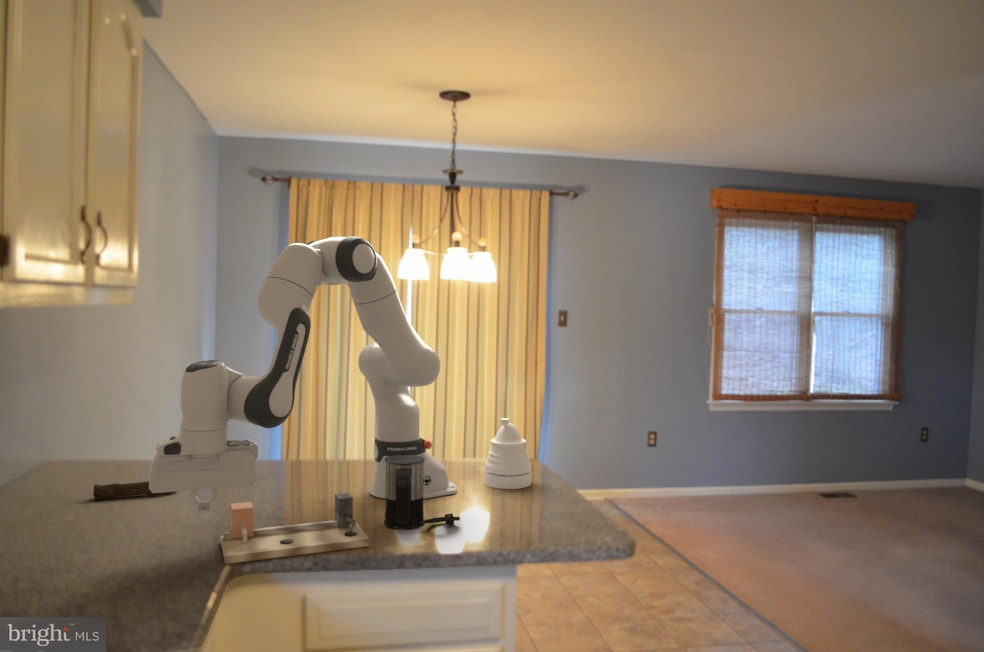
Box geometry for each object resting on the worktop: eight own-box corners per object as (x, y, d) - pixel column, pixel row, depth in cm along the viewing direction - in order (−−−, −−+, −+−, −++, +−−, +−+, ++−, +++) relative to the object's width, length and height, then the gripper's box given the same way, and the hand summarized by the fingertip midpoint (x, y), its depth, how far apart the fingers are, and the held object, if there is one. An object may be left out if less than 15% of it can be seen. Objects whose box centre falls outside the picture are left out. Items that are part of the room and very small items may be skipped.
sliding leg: (250, 530, 158) (250, 501, 157) (255, 544, 149) (255, 513, 149) (230, 533, 156) (230, 503, 156) (234, 546, 148) (234, 516, 147)
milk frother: (379, 519, 173) (379, 455, 172) (445, 513, 179) (445, 450, 178) (394, 538, 160) (395, 469, 159) (465, 531, 165) (465, 464, 165)
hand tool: (92, 502, 184) (92, 484, 184) (95, 498, 188) (95, 479, 187) (176, 497, 190) (176, 479, 190) (177, 493, 194) (177, 475, 193)
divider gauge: (354, 527, 167) (354, 491, 166) (369, 545, 155) (369, 507, 154) (220, 542, 156) (220, 504, 155) (225, 564, 144) (224, 522, 143)
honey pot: (516, 491, 199) (517, 423, 198) (475, 484, 205) (476, 418, 204) (539, 481, 209) (540, 417, 209) (499, 475, 216) (500, 412, 215)
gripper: (256, 436, 158) (255, 501, 159) (149, 442, 150) (149, 511, 150) (260, 442, 152) (259, 509, 153) (148, 448, 144) (148, 519, 145)
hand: (203, 510), depth 151 cm, fingers closed
